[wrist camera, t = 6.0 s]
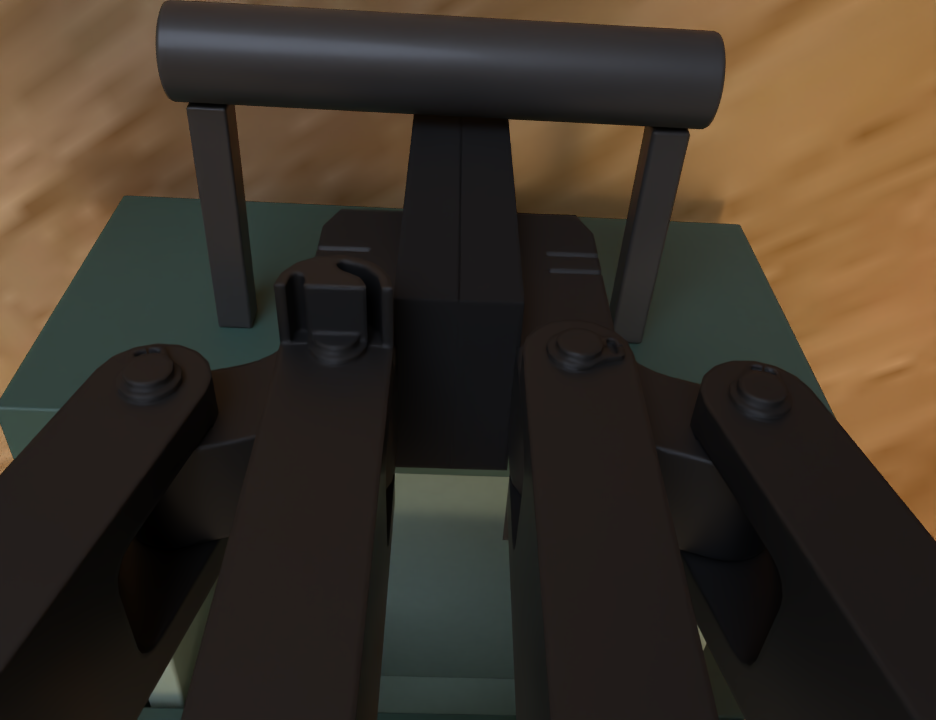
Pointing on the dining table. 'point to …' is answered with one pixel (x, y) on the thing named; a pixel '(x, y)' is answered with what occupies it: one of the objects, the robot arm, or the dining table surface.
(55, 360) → the drawer
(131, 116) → the dining table surface
